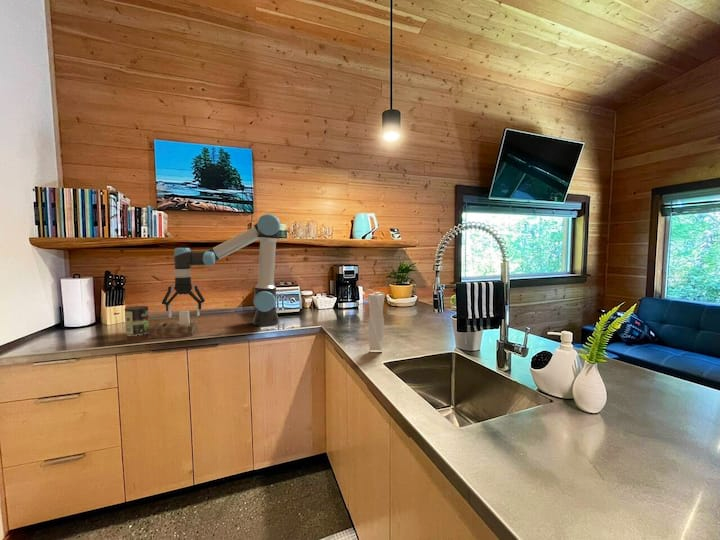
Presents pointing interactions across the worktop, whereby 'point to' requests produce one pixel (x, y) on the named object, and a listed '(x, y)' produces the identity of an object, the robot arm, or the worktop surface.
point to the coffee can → (136, 320)
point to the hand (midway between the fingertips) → (184, 316)
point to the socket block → (172, 330)
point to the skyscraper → (376, 320)
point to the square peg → (184, 318)
